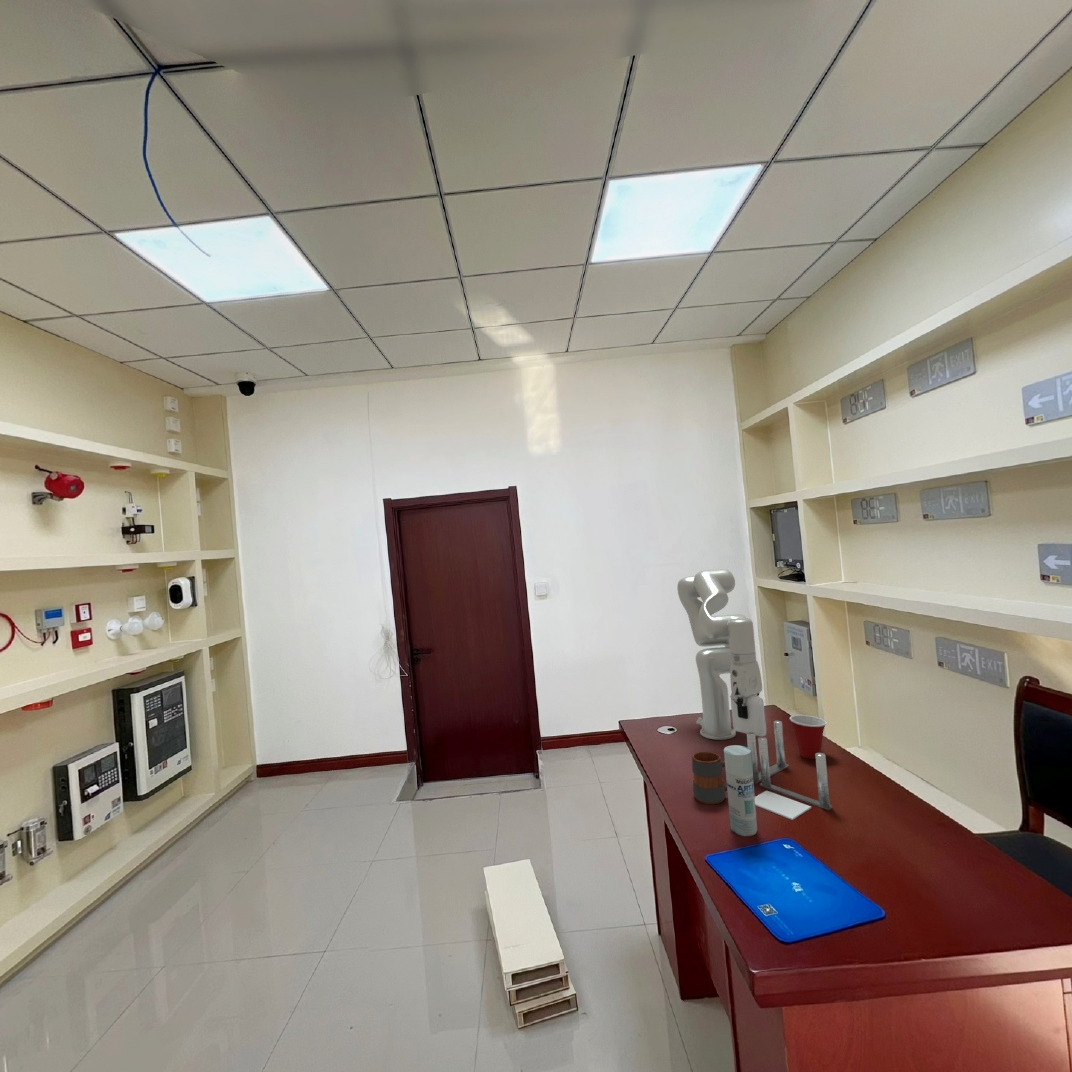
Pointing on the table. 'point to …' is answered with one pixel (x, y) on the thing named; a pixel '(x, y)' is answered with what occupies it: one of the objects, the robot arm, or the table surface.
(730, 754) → the spray paint can
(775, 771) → the gate
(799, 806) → the mat
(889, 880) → the table surface
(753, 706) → the photo printer
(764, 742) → the gate
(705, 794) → the mug
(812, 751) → the plastic cup
